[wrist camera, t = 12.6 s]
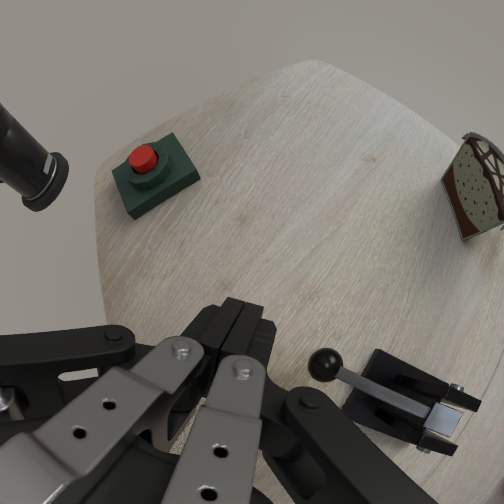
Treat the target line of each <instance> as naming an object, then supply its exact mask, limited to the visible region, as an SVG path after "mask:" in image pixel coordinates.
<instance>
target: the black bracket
mask: <svg viewBox="0 0 504 504" xmlns="http://www.w3.org/2000/svg"><path fill="white" fill-rule="evenodd" d="M361 376H362V377H364V378H366V379H368V380H371V381H373V382H375V383H377V384H379V385H381V386H383V387H386V388H388V389H390V390H392V391H394V392H397V393H399V394H401V395H403V396H406V397H408V398H410V399H412V400H415V401H417V402H419V403H422V404H424V405H426V406H429V407H430V406H431V404H432V402H438V403H440V402H443V403H446V404H450V405H453V406H456V407H460V408H463V409H466V410H470V411H473V412H477V411H478V408H479V406H480V404H481V402H482V401H481V400H479V399H477V398H474V397H472V396H470V395H468V394H466V393H464V392H463V391H464V387H462V386H459V385H457V384H453V383H452V384H451V385H450V386H448V385H449V384H448V383H446V382H444V381H442V380H440V379H438V378H436V377H434V376H432V375H430V374H428V373H426V372H424V371H422V370H420V369H418V368H416V367H414V366H412V365H410V364H408V363H406V362H404V361H402V360H400V359H398V358H396V357H394V356H392V355H390V354H388V353H386V352H384V351H383V350H381V349H375V351H374V353H373V355H372V357H371V359H370V361H369V363H368V364H367V366H366V368H365V370H364V372H363V374H362V375H361ZM341 411H342V412H343V413H344V414H345V415H346V416H347V417H348V418H349V419H350V420H352V421H355V422H357V423H359V424H362V425H364V426H366V427H369V428H371V429H374V430H376V431H379V432H381V433H384V434H386V435H389V436H392V437H394V438H397V439H400V440H403V441H406V442H408V443H411V444H414V445H417V447H416V448H417V449H418V450H420V451H422V452H424V453H427V454H429V453H430V451H435V452H438V453H441V454H445V455H448V456H453V454H454V452H455V451H456V449H457V447H458V445H456V444H454V443H452V442H450V441H448V440H446V439H444V438H442V437H440V436H438V435H436V434H434V433H432V432H430V431H429V430H427V429H426V428H425V427H423V426H422V425H421V422H422V421H423V419H422V418H420V417H417V416H415V415H413V414H410V413H408V412H406V411H404V410H401V409H399V408H397V407H395V406H393V405H390V404H388V403H386V402H384V401H382V400H380V399H378V398H376V397H373V396H371V395H369V394H367V393H365V392H363V391H361V390H359V389H357V388H354V389H353V391H352V393H351V394H350V396H349V398H348V399H347V401H346V403H345V404H344V406H343V407H342V409H341Z"/></svg>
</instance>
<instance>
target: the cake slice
mask: <svg viewBox="0 0 504 504" xmlns="http://www.w3.org/2000/svg"><path fill="white" fill-rule="evenodd" d="M462 139H464V140H465V141H464V143H463V144H462V146H461V148H460V149H459V151H458V153H457V154H456V156H455V158H454V159H453V161H452V162H451V164H450V165H449V167H448V169H447V170H446V172H445V173H444V175H443V176H442V178H441V182H442V184H443V187H444V189H445V192H446V194H447V197H448V200H449V203H450V205H451V208H452V211H453V214H454V217H455V220H456V223H457V226H458V229H459V233H460V236H461V240H462V241H464V240H467V239H470V238H472V237H474V236H477V235H479V234H481V233H483V232H486V231H488V230H490V229H492V228H494V227H496V226H499V225H501V224H503V223H504V154H503V153H502V152H501V151H500V150H499V149H498V148H497V147H496V146H495V145H494V144H493V143H492V142H491V141H489V140H488V139H486V138H485V137H483V136H481V135H479V134H477V133H474V132H470V133H467V134H466V135H464V136H463V137H462ZM503 229H504V225H503V226H502V228H501V229H500V230H503Z"/></svg>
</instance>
